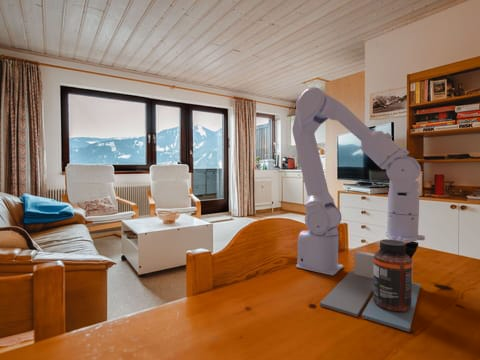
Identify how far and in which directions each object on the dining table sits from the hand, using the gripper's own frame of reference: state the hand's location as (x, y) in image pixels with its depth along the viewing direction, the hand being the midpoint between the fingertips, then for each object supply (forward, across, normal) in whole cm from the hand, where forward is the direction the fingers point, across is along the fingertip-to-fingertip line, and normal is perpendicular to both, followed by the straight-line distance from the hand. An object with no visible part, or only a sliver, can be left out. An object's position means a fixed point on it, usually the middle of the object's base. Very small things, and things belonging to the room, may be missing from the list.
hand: (400, 276), depth 59 cm
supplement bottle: (+2, -13, 0) cm, 13 cm away
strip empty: (+2, -9, +7) cm, 12 cm away
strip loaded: (+2, -9, 0) cm, 9 cm away
